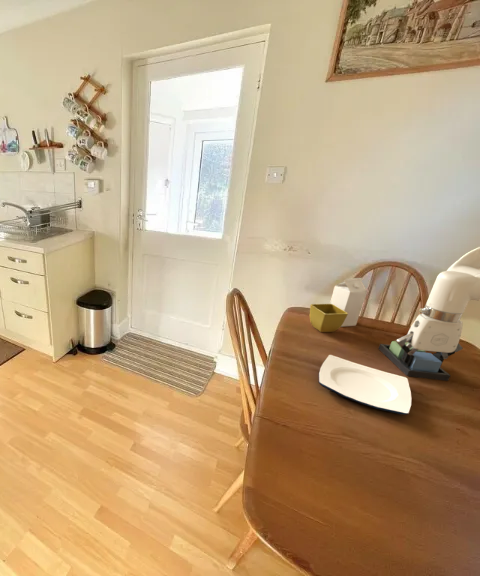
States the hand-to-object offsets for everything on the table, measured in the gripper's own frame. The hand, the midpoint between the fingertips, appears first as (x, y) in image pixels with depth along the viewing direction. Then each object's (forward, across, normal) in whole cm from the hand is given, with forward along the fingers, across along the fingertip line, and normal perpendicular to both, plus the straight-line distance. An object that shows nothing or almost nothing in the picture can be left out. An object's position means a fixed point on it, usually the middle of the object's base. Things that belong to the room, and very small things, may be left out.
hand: (419, 365), depth 97 cm
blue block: (+1, 0, 0) cm, 1 cm away
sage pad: (+1, 0, +7) cm, 7 cm away
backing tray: (+2, 0, +4) cm, 4 cm away
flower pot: (+2, -18, +22) cm, 29 cm away
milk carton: (+2, -9, +30) cm, 32 cm away
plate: (+2, -21, -14) cm, 25 cm away
